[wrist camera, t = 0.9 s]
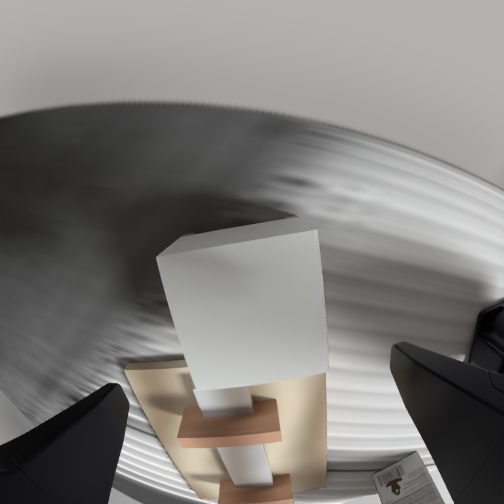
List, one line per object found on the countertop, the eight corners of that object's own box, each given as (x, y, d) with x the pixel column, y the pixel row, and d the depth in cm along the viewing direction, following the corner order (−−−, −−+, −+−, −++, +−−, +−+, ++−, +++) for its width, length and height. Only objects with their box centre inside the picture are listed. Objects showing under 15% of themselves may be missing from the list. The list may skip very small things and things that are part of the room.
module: (295, 214, 16) (317, 229, 11) (308, 322, 18) (328, 371, 13) (184, 234, 17) (155, 256, 11) (209, 337, 18) (196, 390, 13)
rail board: (320, 339, 18) (336, 376, 14) (324, 480, 23) (331, 508, 19) (128, 362, 19) (107, 397, 15) (200, 492, 23) (197, 520, 19)
